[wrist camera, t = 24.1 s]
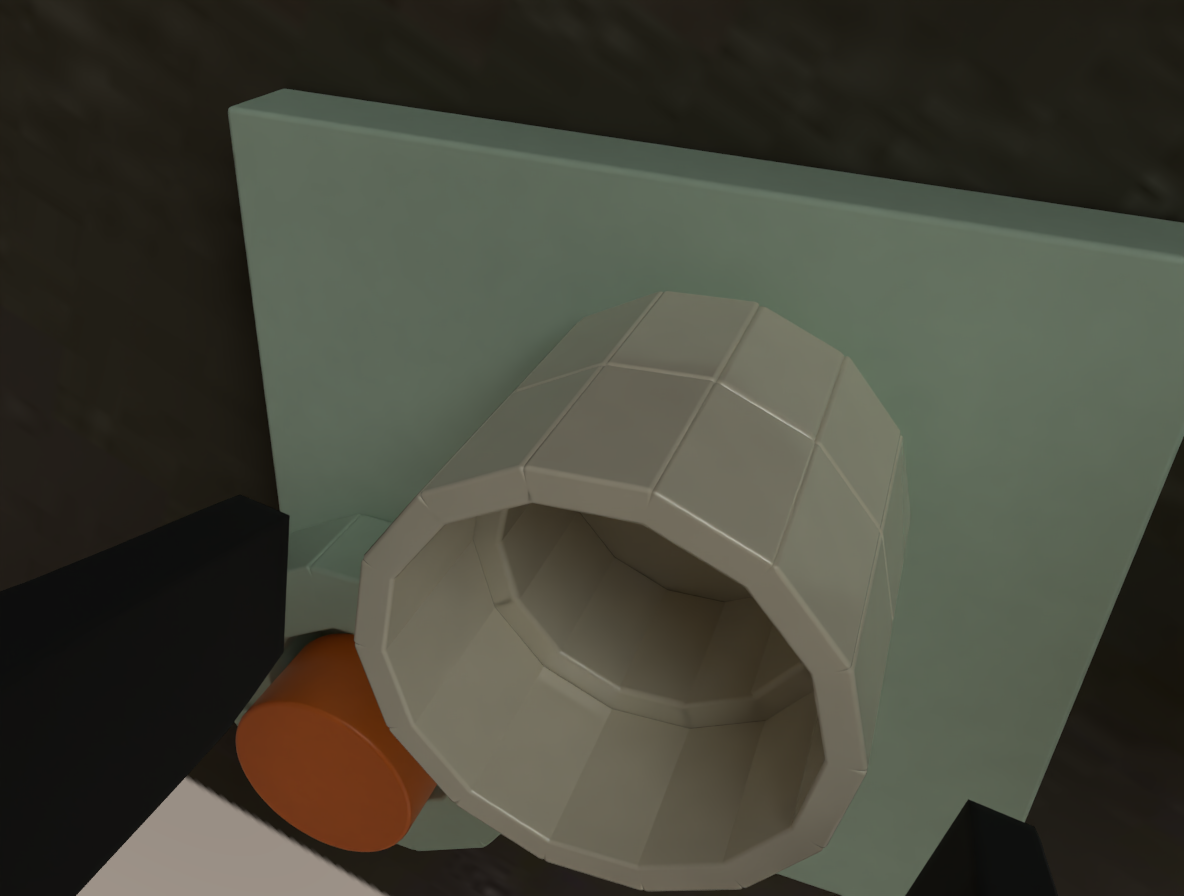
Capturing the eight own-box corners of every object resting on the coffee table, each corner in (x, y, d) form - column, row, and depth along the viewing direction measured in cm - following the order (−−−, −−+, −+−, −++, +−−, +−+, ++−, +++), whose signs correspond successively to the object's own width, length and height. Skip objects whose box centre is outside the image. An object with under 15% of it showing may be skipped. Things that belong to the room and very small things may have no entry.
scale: (321, 683, 22) (236, 787, 20) (251, 82, 16) (109, 127, 13) (972, 894, 19) (964, 1051, 16) (1234, 228, 12) (1285, 325, 10)
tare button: (304, 743, 19) (247, 816, 18) (286, 609, 17) (220, 679, 16) (461, 797, 18) (413, 878, 17) (459, 662, 16) (405, 740, 15)
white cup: (507, 539, 17) (339, 766, 12) (572, 219, 13) (376, 384, 9) (832, 670, 16) (763, 964, 12) (981, 358, 12) (959, 609, 8)
